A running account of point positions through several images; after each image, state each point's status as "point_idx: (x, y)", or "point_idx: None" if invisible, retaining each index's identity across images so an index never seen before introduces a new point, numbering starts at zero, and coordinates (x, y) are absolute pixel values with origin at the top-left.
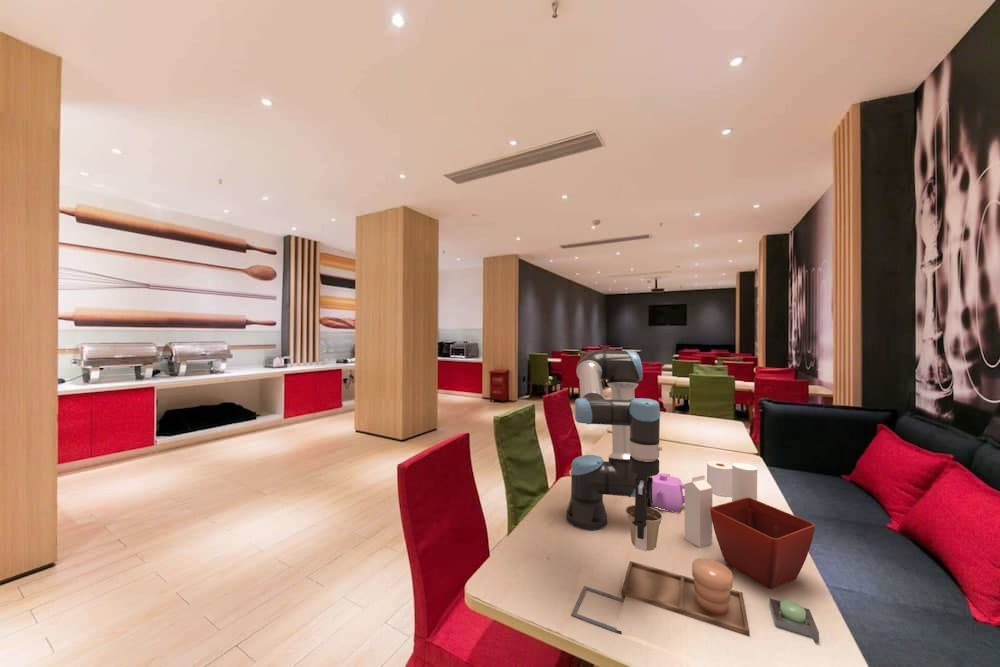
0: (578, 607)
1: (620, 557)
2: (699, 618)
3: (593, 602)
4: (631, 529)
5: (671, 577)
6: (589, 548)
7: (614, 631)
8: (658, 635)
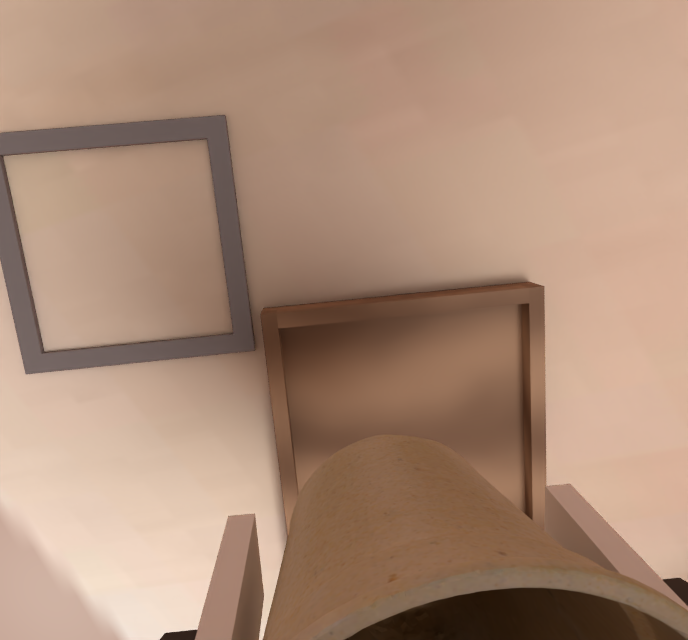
0: (46, 150)
1: (592, 214)
2: None
3: (142, 202)
4: (316, 533)
5: (525, 481)
6: (597, 16)
7: (22, 345)
8: (129, 494)
